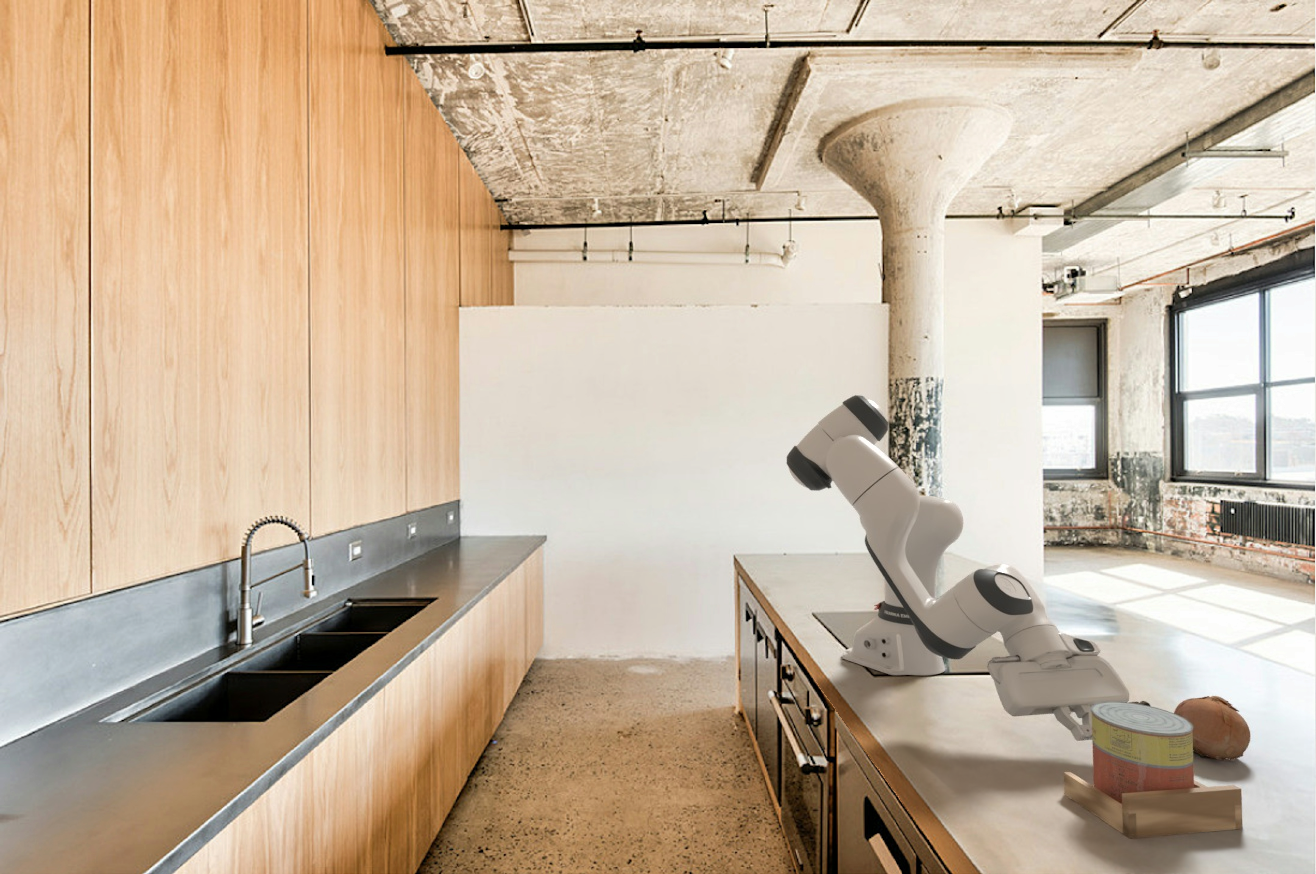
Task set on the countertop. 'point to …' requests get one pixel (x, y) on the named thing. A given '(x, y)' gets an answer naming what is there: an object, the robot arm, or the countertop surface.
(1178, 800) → the cradle
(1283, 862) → the countertop surface
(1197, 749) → the onion
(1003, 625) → the robot arm
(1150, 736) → the canned food
